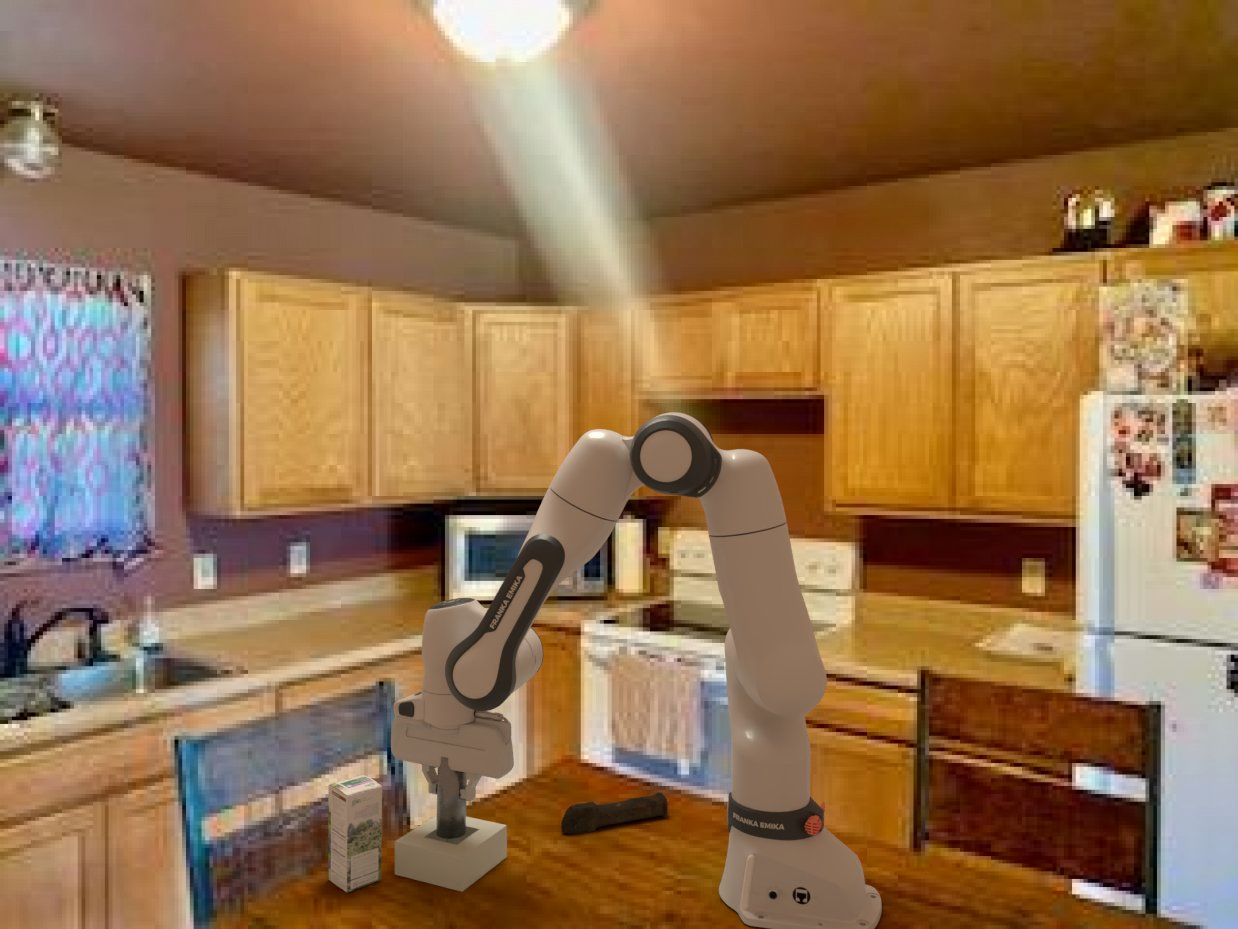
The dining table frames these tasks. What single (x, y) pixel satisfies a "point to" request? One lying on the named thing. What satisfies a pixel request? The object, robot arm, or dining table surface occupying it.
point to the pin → (450, 802)
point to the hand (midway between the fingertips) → (451, 796)
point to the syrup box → (354, 833)
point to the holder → (451, 853)
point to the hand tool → (612, 813)
